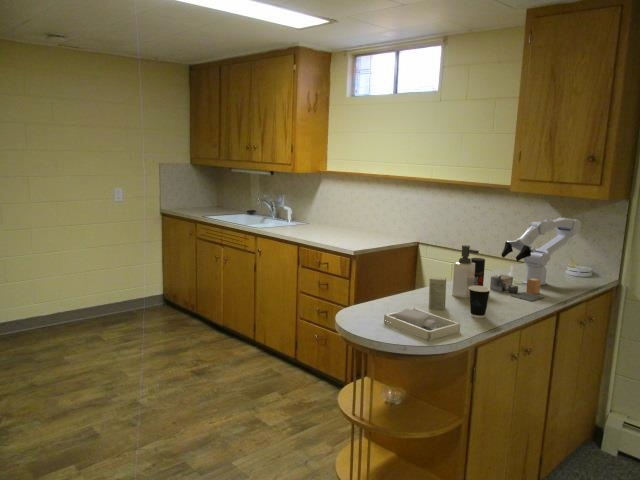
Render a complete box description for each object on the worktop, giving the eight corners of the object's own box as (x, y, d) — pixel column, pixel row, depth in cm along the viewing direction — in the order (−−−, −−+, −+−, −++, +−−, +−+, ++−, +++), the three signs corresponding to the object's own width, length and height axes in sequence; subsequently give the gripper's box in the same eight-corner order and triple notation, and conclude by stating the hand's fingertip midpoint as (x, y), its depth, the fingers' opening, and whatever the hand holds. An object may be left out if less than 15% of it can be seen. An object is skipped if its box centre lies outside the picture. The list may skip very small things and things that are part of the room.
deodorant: (481, 290, 237) (483, 257, 234) (483, 293, 231) (486, 260, 228) (467, 289, 237) (470, 257, 235) (470, 293, 231) (472, 260, 229)
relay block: (531, 291, 237) (532, 277, 236) (539, 293, 234) (540, 279, 233) (526, 292, 235) (527, 279, 234) (534, 294, 232) (535, 280, 231)
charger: (432, 336, 177) (394, 326, 186) (445, 329, 184) (408, 320, 193) (433, 322, 176) (395, 313, 186) (445, 316, 183) (408, 307, 192)
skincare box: (445, 307, 210) (447, 277, 208) (444, 310, 206) (446, 280, 204) (429, 305, 212) (430, 276, 210) (427, 308, 208) (429, 278, 206)
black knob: (511, 291, 236) (512, 284, 236) (519, 293, 233) (520, 286, 233) (506, 292, 234) (506, 285, 234) (514, 294, 231) (514, 287, 230)
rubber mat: (523, 292, 234) (523, 291, 234) (544, 298, 226) (544, 297, 226) (510, 296, 228) (510, 295, 228) (531, 301, 220) (531, 300, 220)
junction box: (500, 286, 244) (501, 272, 243) (513, 289, 238) (514, 275, 237) (488, 289, 239) (489, 275, 238) (501, 292, 233) (502, 278, 232)
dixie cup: (471, 319, 195) (473, 291, 193) (463, 313, 202) (465, 285, 201) (491, 319, 195) (494, 290, 194) (483, 312, 203) (485, 285, 201)
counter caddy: (414, 315, 198) (414, 307, 198) (459, 331, 181) (460, 323, 180) (383, 322, 189) (384, 314, 188) (429, 340, 172) (429, 332, 171)
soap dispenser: (470, 299, 221) (474, 248, 218) (452, 295, 227) (455, 245, 224) (478, 296, 226) (481, 246, 222) (459, 292, 232) (462, 244, 228)
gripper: (511, 230, 246) (494, 247, 241) (538, 236, 234) (521, 254, 230) (514, 241, 249) (497, 259, 245) (542, 248, 238) (525, 266, 233)
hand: (509, 257), depth 237 cm, fingers open, 7 cm apart
